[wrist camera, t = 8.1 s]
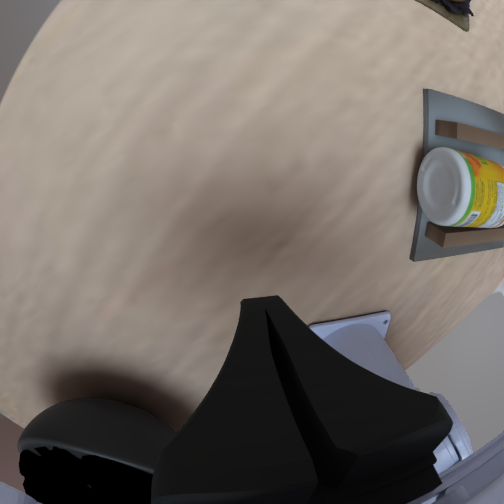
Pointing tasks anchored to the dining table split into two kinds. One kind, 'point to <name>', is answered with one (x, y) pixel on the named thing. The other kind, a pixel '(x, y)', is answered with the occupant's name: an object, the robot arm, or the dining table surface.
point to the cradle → (469, 141)
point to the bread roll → (451, 10)
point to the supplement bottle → (461, 189)
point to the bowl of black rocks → (91, 453)
